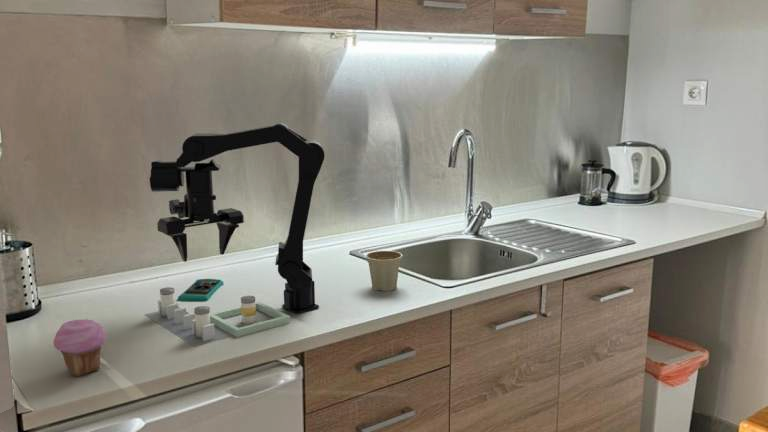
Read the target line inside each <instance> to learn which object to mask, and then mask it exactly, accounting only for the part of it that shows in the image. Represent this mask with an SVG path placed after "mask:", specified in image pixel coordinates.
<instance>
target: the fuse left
mask: <svg viewBox="0 0 768 432" xmlns="http://www.w3.org/2000/svg"><path fill="white" fill-rule="evenodd" d="M159 294H160V300H161V310H162V312H161V314H162V317H167V305H171V304H175V303H176V300H175V299H176V298H175V288H174V287H170V286H169V287H168V286H167V287H162V288H160V289H159Z"/></svg>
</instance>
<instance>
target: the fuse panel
mask: <svg viewBox="0 0 768 432" xmlns="http://www.w3.org/2000/svg"><path fill="white" fill-rule="evenodd" d="M157 308H158V310H157V311H154V312H149V313H145V314H144V316H146V317H148V318H149V319H150V320H152V321H154V323H156V324H158V325H160V326H161V327H163V328H165V329H166V330H168V331H169V332H171V333H173V334H174V335H176V336H177V337H178V338H180V339H182V340H183V341H185V342H186V343H188V344H189V345H191V346H192V347H198V346H202V345H206V344H210V343H213V342H217V341H220V340H225V339H227V338H230V337H231V336H230V335H228V334H227V333H224V332H223V331H221V330H219V329H217V327H215V324H213V323H210V324H208V325H204V326H202V339H199V338H196V325H195V313H194V312H191V313H189V312H188V311H187V308H186V307H179V304H178V303H176V302H175V304H171V305H167V317H162V314H161V312H162V310H161V299H160V300H157Z"/></svg>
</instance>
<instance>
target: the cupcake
mask: <svg viewBox="0 0 768 432" xmlns="http://www.w3.org/2000/svg"><path fill="white" fill-rule="evenodd" d="M105 332H106V331H105V329H104V327H103V326H102V325H101V324H100V323H99V322H96V321H94V320H92V319H88V318H83V319H73V320H69V321H67V322H65V323H63V324H61V326H60V327H59V329H58V330H57V331H56V333H55V336H54V337H53V347H54V348H55V349H56V350H57V351H59V352H60V353H61V354H62V356H63V359H64V363H65V365H66V369H68V371H69V372H70V373H71V374H73V375H74V376H76V377H78V376H83V375H85V374H88V373H91V372H96V371H97V370H99V369H100V367H101V349H102V346H104V343H105V341H106V339H107V338H106V337H107V335H106V333H105Z"/></svg>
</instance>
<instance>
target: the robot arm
mask: <svg viewBox="0 0 768 432" xmlns="http://www.w3.org/2000/svg"><path fill="white" fill-rule="evenodd" d="M272 143H279V144H281V146H283V147H284V148H286V149H287V150H289V151H290V152H291V153H293V154H294V155H295V156H297V157H298V179H297V180H298V181H297V184H296V185H297V186H296V192H295V196H294V201H293V202H294V203H293V207H292V212H291V213H292V214H291V218H290V223H289V228H288V234H287V237H286V240H285V241H284V242H281V241H278V247H277V248H278V249H277V250H278V253H277V254H276V256H275V263H274V264H275V266H277V273H278V274H279V276H280V278H282V279H284V280H286V282H285V283H284V290H283V303H282V304H281V307H282V308H283V309H285V310H288V311H290V312H293V313H295V314H300V313H303V312H307V311H312V310H316V309H318V308H320V305H319V304H317V303H316V298H315V297H316V295H315V292H316V289H315V287H316V286H315V280H313V273H312V271H313V270H312V268H311V267H310V266H309V265H308V264H307V263H306V262H305V261H304V239H305V238H304V237H305V234H306V228H307V222H308V218H309V212H310V208H311V201H312V197H313V192H314V185H315V183H316V180H317V178H318V177H319V174H320V171H321V168H322V165H323V163H324V160H325V151H324V148H323V146H322V144H321V143H320V142H319V141H317V140H315V139H309V140H308V139H306V138H305V137H304V136H303V135H301V134H299V133H298V132H296V131H294V130H293V129H291V128H290V127H288V126H287V125H286V124H285V123H282V122H276V123H275V124H273V125H266V126H260V127H256V128H254V127H253V128H250V129H249V128H248V129H244V130H238V131H233V132H227V133H209V132H207V133H205V132H203V133H200V132H199V133H195V134H194V133H193V134H191V135H190V136H188V137H187V138H186V139H185V140H184V141H183V144H182V147H181V149H182V153H181V154H180V156H179V157H177V158H176V161H175V160H174V161H173V160H171V161H161V160H153V161H151V163H150V165H151V166H150V177H149V186H150V190H151V192H152V193H154V192H155V193H156V192H179V191H180V187H184V185H186V193H185V194H184V196H183V200H184V201H180V199H178V198H177V199H170V200H169V201H168V206H169V207H168V209H169V210H168V211H169V214H170V215H177V216H178V217H177V216H169V217H160V218H159V220H158V221H157V222H156V223H157V224H156V225H157V227H156V228H157V232H160V233H163V234H164V235H165V236H168V237H170V238H171V239H172V240H173V242H174V244H175V247H176V248H177V250H178V252H179V254H180V256H181V259H182V261H183V262H184V263H185V262H187V261H188V238H187V233H185V232H184V231H185V230H186V228H191V227H196V226H197V227H198V226H204V225H209V224H216V226H217V230H218V243H219V244H218V246H219V247H218V248H219V253H220V255H221V256H223V255H225V253H226V250H227V247H228V245H229V242H230V241H231V238H232V236H233V234H234V232H235V231H236V229H237V228H240V224H243V223H245V219H244V218H245V217H244V214H243V212H242V210H238V209H236V208H224V209H217V210H218V211H217V213H216V212H215V206H214V205H215V203H214V201H217V195H216V194H214V190H213V189H214V187H213V186H214V185H213V172H215V171H217V172H218V171H219V170H220V169H221V165H220V164H218V163H217V162H216V161H215V160H214V159H213V157H216V156H217V155H221V154H222V153H223V154H224V153H225V152H228V151H235V150H238V149H239V150H240V149H245V148H250V147H257V146H261V145H267V144H272ZM210 158H211V160H210V161H208V162H202V161H205V160H208V159H210ZM191 163H194V166H192V167H191V166H188V165H190V164H191ZM184 172H185V174H184Z"/></svg>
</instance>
